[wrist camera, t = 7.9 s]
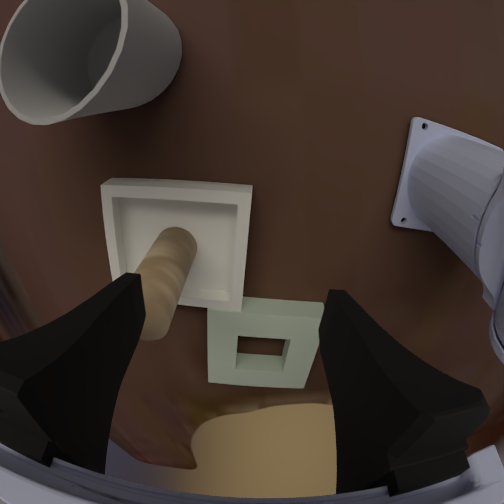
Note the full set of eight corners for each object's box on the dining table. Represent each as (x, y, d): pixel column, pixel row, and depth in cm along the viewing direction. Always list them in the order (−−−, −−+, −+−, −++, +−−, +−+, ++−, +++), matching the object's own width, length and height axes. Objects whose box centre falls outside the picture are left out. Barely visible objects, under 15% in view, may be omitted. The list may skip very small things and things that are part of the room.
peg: (202, 235, 21) (175, 309, 14) (190, 269, 22) (162, 348, 15) (162, 220, 20) (117, 286, 13) (152, 255, 22) (111, 327, 15)
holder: (322, 302, 24) (326, 318, 22) (301, 372, 29) (303, 388, 27) (210, 293, 24) (207, 309, 22) (210, 366, 28) (208, 382, 27)
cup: (180, 108, 17) (120, 118, 10) (55, 115, 17) (-33, 140, 9) (190, 5, 14) (142, -50, 6) (61, 26, 14) (-24, 14, 6)
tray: (252, 185, 20) (252, 193, 18) (242, 296, 24) (241, 311, 23) (111, 177, 20) (100, 185, 18) (123, 283, 24) (115, 296, 22)
